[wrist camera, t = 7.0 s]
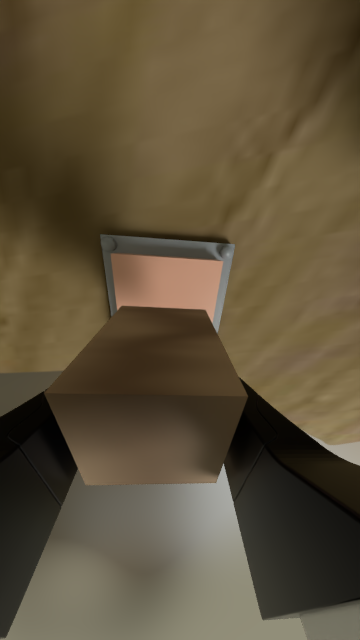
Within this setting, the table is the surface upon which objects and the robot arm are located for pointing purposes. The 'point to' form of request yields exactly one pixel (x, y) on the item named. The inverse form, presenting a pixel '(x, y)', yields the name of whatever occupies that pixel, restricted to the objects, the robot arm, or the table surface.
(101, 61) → the table surface
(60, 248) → the table surface
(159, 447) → the tan wooden block
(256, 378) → the table surface
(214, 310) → the brick base
